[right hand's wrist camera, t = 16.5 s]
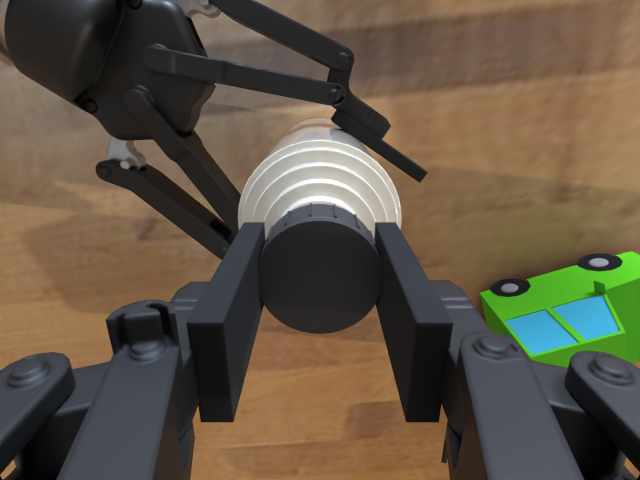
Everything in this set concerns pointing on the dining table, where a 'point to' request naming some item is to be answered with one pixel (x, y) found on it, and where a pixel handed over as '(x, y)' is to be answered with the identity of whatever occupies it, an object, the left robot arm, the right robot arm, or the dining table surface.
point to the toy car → (571, 310)
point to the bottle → (319, 178)
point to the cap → (319, 269)
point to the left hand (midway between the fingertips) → (379, 224)
